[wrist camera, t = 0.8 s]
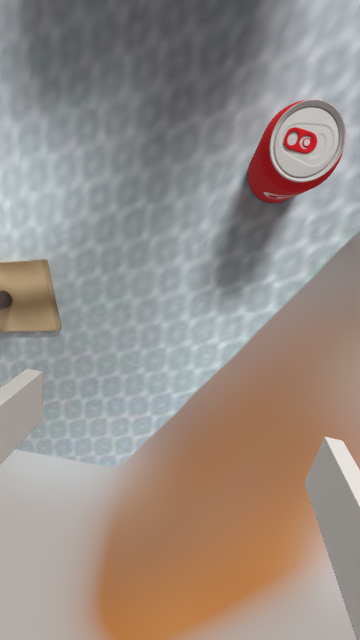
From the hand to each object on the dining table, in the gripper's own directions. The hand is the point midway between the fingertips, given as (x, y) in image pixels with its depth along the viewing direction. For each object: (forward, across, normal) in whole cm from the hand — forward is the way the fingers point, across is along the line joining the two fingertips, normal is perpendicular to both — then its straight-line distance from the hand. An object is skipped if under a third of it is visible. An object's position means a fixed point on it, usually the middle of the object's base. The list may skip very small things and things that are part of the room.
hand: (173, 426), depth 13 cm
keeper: (+25, -28, -6) cm, 38 cm away
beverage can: (+26, +5, +16) cm, 30 cm away
